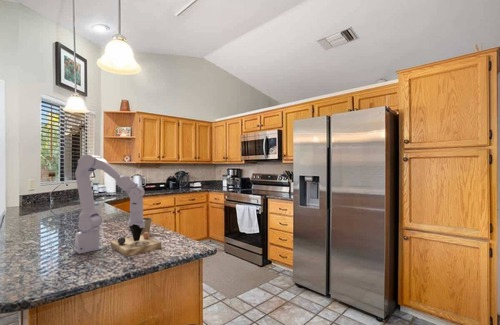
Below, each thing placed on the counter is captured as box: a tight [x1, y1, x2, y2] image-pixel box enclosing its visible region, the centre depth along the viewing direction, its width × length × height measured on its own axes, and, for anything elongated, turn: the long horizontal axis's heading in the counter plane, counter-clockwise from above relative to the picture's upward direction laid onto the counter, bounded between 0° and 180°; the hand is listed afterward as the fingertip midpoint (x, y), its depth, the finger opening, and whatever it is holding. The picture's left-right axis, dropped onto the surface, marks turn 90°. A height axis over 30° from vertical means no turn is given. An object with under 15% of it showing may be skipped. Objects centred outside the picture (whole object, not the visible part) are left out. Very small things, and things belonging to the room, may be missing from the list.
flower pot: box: [141, 217, 153, 235], centre depth 145 cm, size 9×9×9 cm
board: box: [110, 235, 162, 257], centre depth 122 cm, size 16×20×2 cm
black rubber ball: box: [117, 236, 125, 244], centre depth 119 cm, size 3×3×3 cm
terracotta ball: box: [143, 232, 151, 239], centre depth 128 cm, size 3×3×3 cm
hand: (136, 240), depth 121 cm, fingers closed
